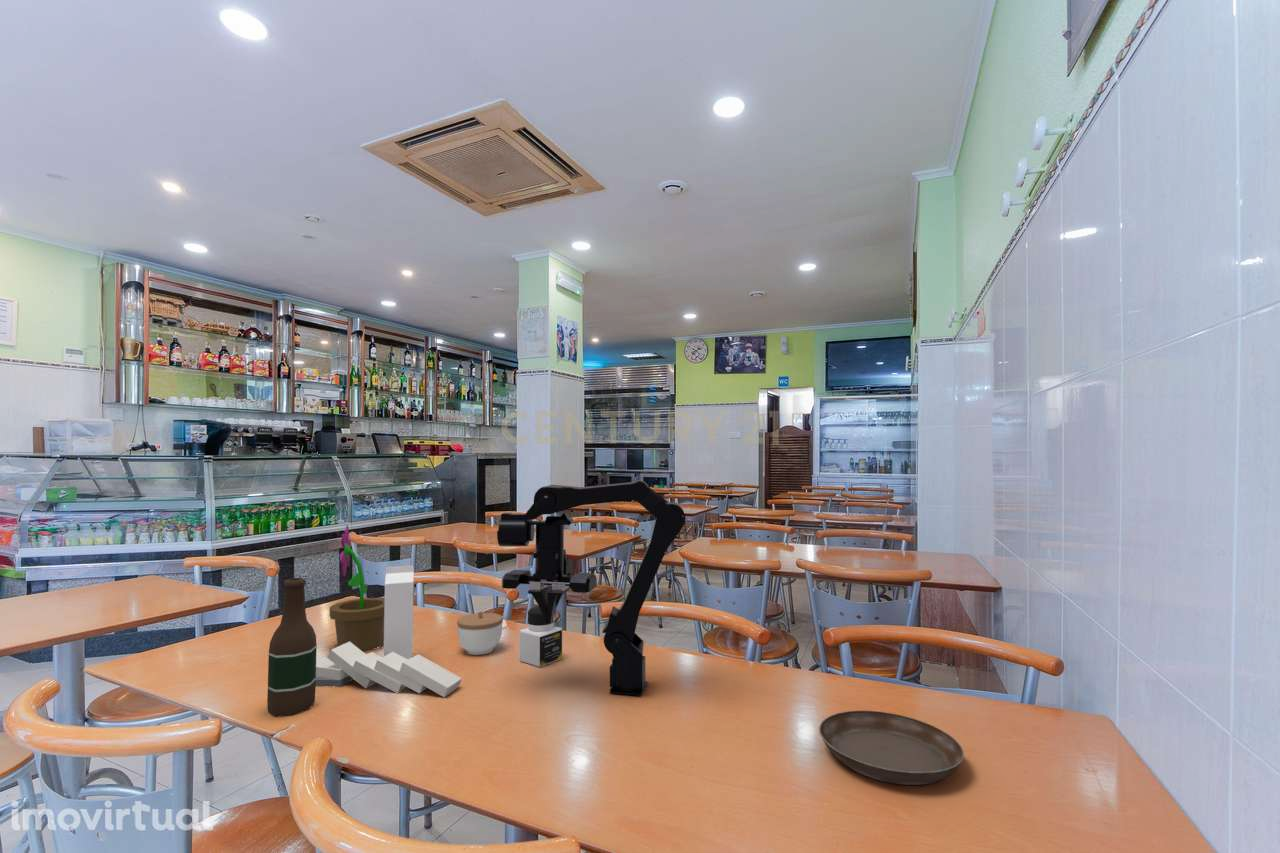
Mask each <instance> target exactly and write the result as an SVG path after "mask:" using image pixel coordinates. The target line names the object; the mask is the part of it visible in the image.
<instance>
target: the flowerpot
mask: <svg viewBox="0 0 1280 853" xmlns="http://www.w3.org/2000/svg"><path fill="white" fill-rule="evenodd" d="M349 533H350V530H349V526H348V525H347V524H346V526H345V528H344V533H342V535H341V540H340V541H341V548H343V551H341V553H339V554H340V555H339V556H340V557H339V564H342V565H341V572H342V577H345V576H346V573H347V568H349V567H350V566H349V565H350V558H351V557H352V559H353V561H354V563H355V565H356V566H357V573H356V574H354V575H353V577H351V579H349V581H348V583H347V585H348V586H350V587H352V588H357V587H359V598H356V599H355V598H354V599H349V600H345V601H340V602H336V603H335V604H332V605H331V606H330V607H329V618H330V620H334V626H335V634H336V635H335V636H336V642H337V647H338V646H341V645H343V644H345V643H347V642H351V643H352V644H354V645H355V646H356V647H357V648H359V649H360V650H361V651H365V652H370V651H373V650H375V649H374V648H376V649H378V648H377V647H379V646H380V647H382V644H383V645H384V605H385V597H384V598H383V597H365V593H367V592H368V583H365V580H364V574H363V569H362V564H361V562H360V560H359V559H358V557H357V555H356V553H355V551H353V550H352V548H351V538H349V536H350V534H349ZM350 556H351V557H350ZM380 647H379V648H380ZM372 649H373V650H372ZM369 650H370V651H369Z"/></svg>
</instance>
